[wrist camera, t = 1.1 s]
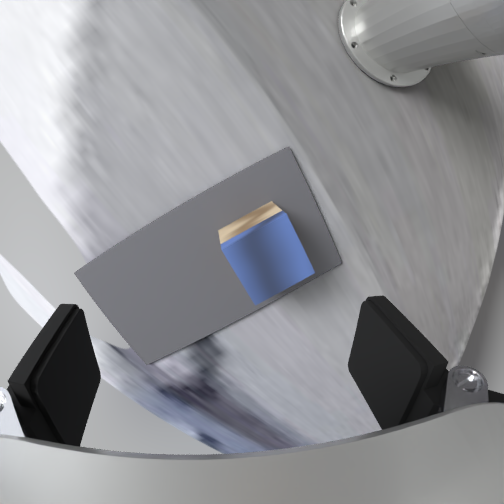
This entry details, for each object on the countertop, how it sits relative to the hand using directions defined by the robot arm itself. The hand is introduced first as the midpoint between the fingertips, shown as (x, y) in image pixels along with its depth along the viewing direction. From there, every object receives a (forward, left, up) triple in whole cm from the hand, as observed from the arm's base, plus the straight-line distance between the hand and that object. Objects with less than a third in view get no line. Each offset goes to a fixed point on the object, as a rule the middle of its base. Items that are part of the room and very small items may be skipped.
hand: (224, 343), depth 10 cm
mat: (+3, +5, -23) cm, 24 cm away
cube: (-3, +5, -22) cm, 23 cm away
